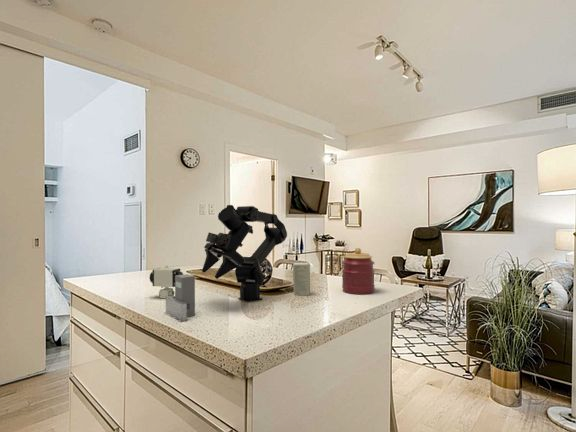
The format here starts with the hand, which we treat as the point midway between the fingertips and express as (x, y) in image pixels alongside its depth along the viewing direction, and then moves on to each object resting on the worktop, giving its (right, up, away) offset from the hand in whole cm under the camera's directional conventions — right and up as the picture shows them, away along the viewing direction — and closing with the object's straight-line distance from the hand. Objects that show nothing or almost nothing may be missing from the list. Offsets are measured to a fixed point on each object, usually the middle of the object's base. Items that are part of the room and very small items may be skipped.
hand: (209, 274), depth 110 cm
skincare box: (+32, -11, +20) cm, 39 cm away
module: (-6, -11, -7) cm, 14 cm away
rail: (-8, -11, -9) cm, 16 cm away
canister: (+55, -11, +25) cm, 61 cm away
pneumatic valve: (-20, -12, +16) cm, 28 cm away
